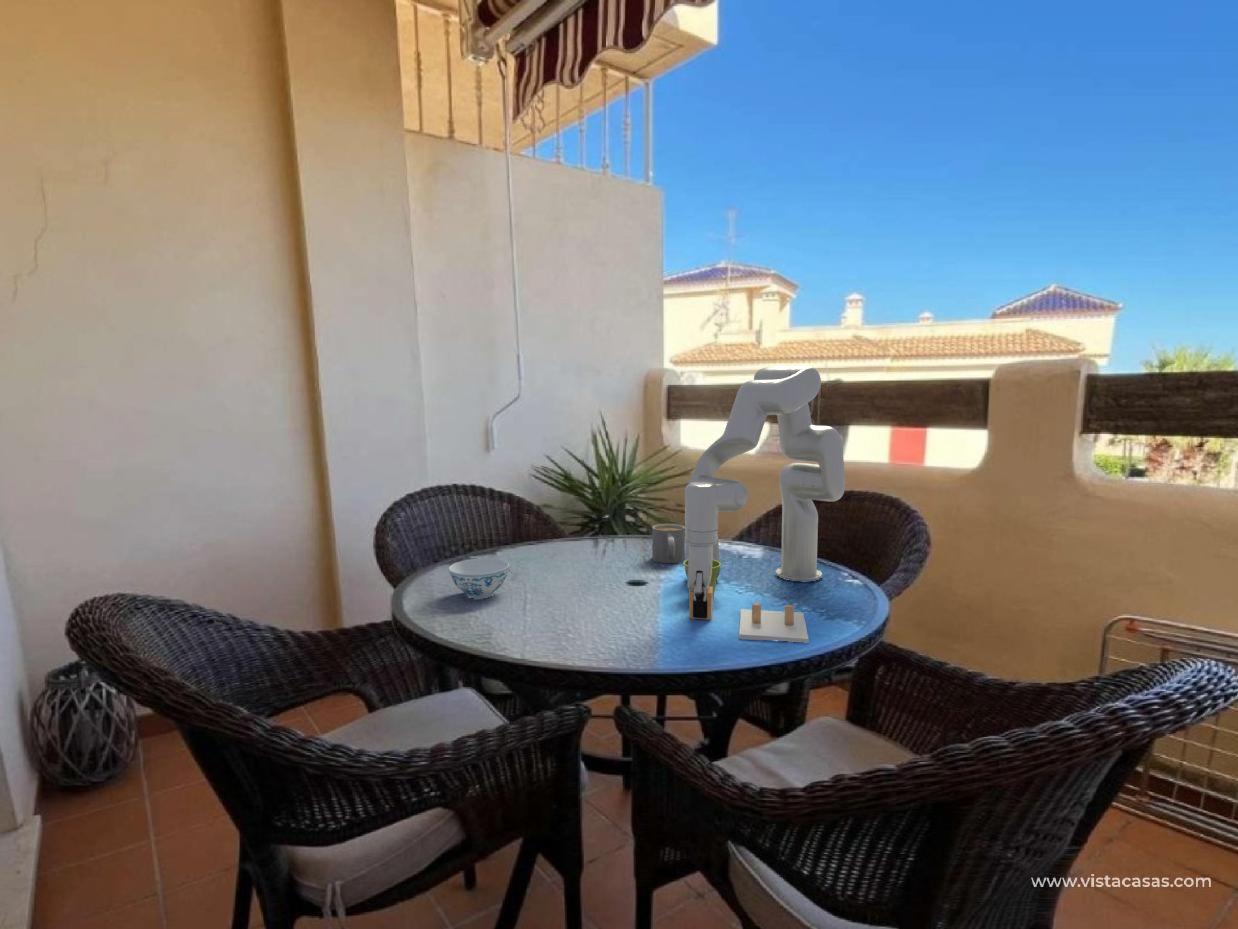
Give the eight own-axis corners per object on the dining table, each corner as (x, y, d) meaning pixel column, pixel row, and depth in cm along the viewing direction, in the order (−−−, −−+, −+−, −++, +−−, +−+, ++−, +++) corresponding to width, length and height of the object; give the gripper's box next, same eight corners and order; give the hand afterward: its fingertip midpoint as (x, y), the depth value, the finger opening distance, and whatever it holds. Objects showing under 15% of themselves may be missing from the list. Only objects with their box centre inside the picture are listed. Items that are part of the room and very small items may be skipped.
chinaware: (478, 583, 179) (477, 556, 178) (521, 591, 171) (520, 563, 170) (437, 599, 166) (436, 569, 165) (482, 608, 158) (480, 577, 157)
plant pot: (709, 588, 172) (709, 556, 171) (727, 599, 163) (727, 565, 162) (676, 593, 168) (676, 560, 167) (694, 604, 160) (694, 569, 159)
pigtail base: (741, 613, 153) (741, 592, 152) (803, 616, 150) (803, 595, 149) (739, 638, 137) (739, 615, 137) (808, 643, 134) (808, 620, 134)
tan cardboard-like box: (691, 611, 155) (691, 585, 154) (712, 612, 154) (712, 586, 153) (689, 618, 150) (689, 592, 149) (711, 619, 149) (711, 593, 148)
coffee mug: (654, 554, 208) (654, 523, 207) (685, 555, 206) (685, 524, 205) (649, 565, 195) (648, 532, 194) (682, 566, 193) (682, 533, 192)
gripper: (688, 528, 159) (688, 600, 161) (680, 544, 142) (680, 625, 144) (720, 529, 157) (719, 602, 159) (715, 546, 141) (715, 627, 143)
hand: (701, 612), depth 152 cm, fingers closed on tan cardboard-like box, 4 cm apart
